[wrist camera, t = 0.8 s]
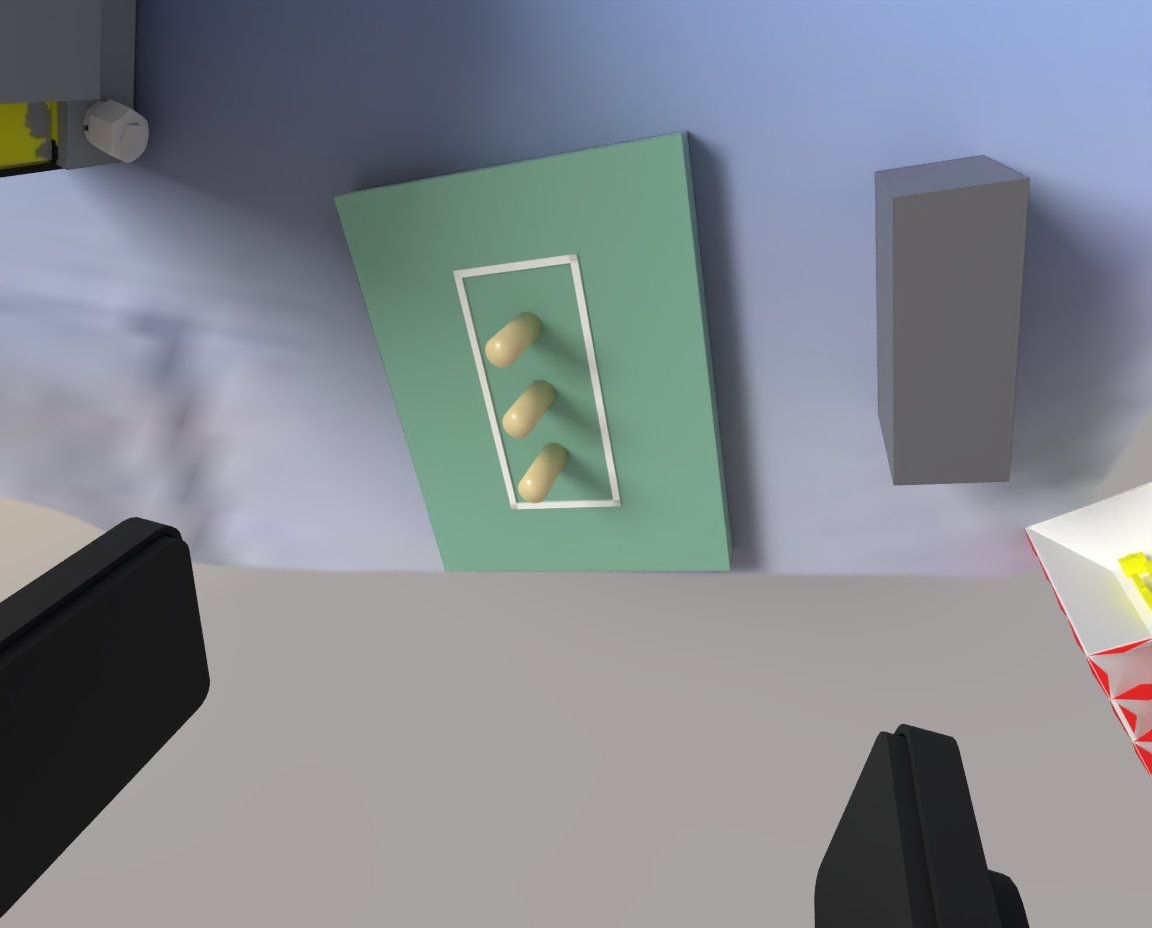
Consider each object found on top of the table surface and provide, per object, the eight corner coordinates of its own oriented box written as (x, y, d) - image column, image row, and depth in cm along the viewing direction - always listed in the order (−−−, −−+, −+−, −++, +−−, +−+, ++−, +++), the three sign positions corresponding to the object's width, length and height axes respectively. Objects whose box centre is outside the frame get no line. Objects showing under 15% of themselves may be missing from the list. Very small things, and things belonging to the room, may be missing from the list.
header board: (687, 130, 27) (666, 142, 23) (732, 551, 35) (723, 616, 31) (353, 191, 32) (286, 210, 28) (458, 554, 39) (417, 611, 35)
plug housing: (983, 155, 25) (1029, 178, 20) (972, 408, 29) (1009, 481, 24) (875, 171, 26) (892, 197, 21) (878, 413, 30) (893, 485, 25)
